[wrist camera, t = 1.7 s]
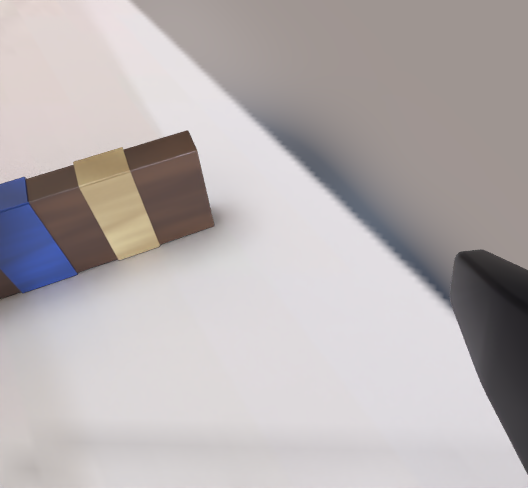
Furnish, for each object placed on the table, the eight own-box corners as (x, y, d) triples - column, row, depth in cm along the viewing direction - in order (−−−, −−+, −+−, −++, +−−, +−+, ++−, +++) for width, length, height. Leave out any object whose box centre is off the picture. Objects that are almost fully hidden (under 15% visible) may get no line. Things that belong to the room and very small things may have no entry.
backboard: (215, 227, 28) (197, 149, 23) (-136, 347, 25) (-242, 286, 20) (192, 173, 31) (171, 93, 26) (-128, 275, 28) (-221, 206, 23)
